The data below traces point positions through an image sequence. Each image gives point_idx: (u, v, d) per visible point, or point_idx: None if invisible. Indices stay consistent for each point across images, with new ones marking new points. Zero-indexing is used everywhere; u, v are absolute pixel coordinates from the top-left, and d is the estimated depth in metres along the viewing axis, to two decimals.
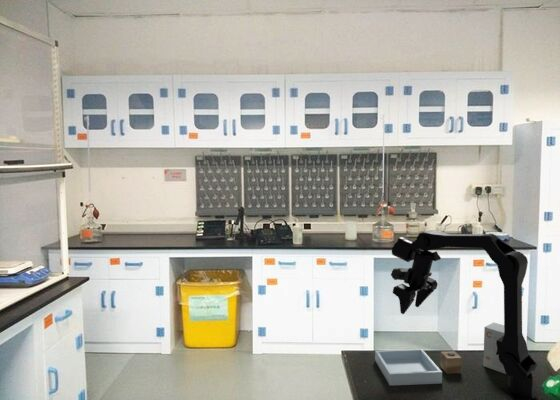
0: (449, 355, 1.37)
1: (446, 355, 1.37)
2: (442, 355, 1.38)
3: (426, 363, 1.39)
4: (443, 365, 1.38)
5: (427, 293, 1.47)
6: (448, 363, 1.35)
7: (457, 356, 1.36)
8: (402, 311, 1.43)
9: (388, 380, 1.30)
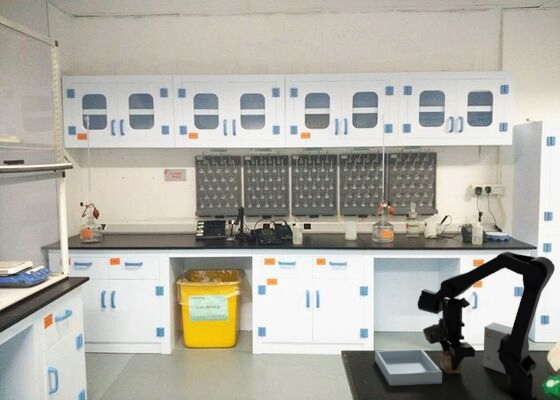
0: (449, 354, 1.37)
1: (446, 355, 1.37)
2: (442, 355, 1.38)
3: (426, 363, 1.39)
4: (443, 365, 1.38)
5: None
6: (448, 362, 1.35)
7: None
8: (455, 367, 1.35)
9: (388, 380, 1.30)
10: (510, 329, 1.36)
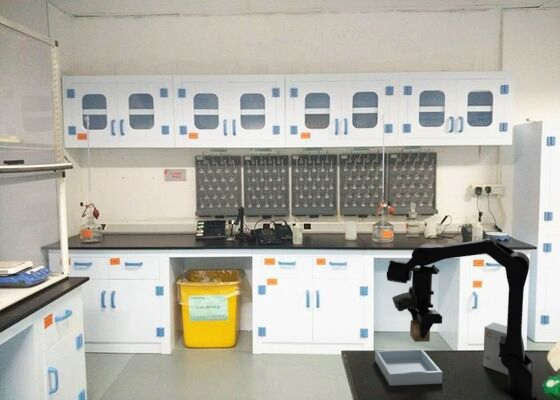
0: (418, 323, 1.36)
1: (415, 323, 1.36)
2: (411, 323, 1.37)
3: (426, 363, 1.39)
4: (412, 333, 1.37)
5: None
6: (417, 330, 1.34)
7: None
8: (423, 335, 1.34)
9: (388, 380, 1.30)
10: None
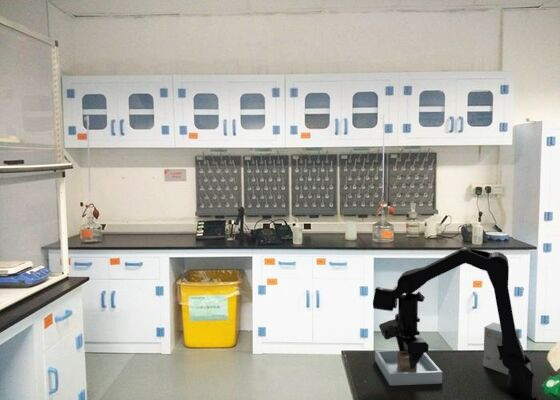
0: (405, 354, 1.36)
1: (402, 355, 1.36)
2: (398, 355, 1.38)
3: (426, 363, 1.39)
4: (399, 364, 1.37)
5: None
6: (404, 362, 1.34)
7: None
8: (413, 366, 1.32)
9: (388, 380, 1.30)
10: None
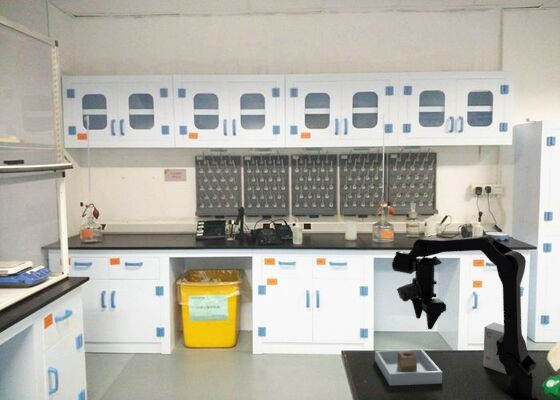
0: (405, 354, 1.36)
1: (402, 355, 1.36)
2: (398, 355, 1.38)
3: (426, 363, 1.39)
4: (399, 364, 1.37)
5: None
6: (404, 362, 1.34)
7: (413, 355, 1.35)
8: (430, 326, 1.37)
9: (388, 380, 1.30)
10: None
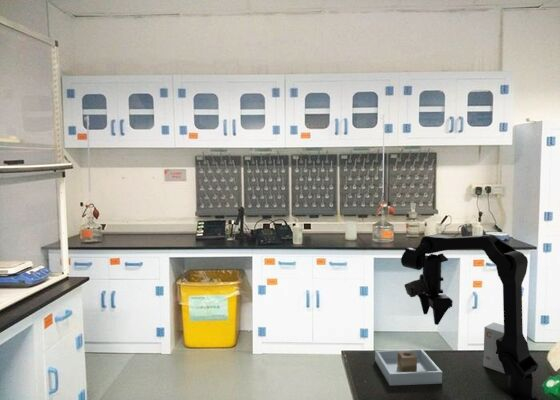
0: (405, 354, 1.36)
1: (402, 355, 1.36)
2: (398, 355, 1.38)
3: (426, 363, 1.39)
4: (399, 364, 1.37)
5: None
6: (404, 362, 1.34)
7: (413, 355, 1.35)
8: (437, 322, 1.40)
9: (388, 380, 1.30)
10: None
